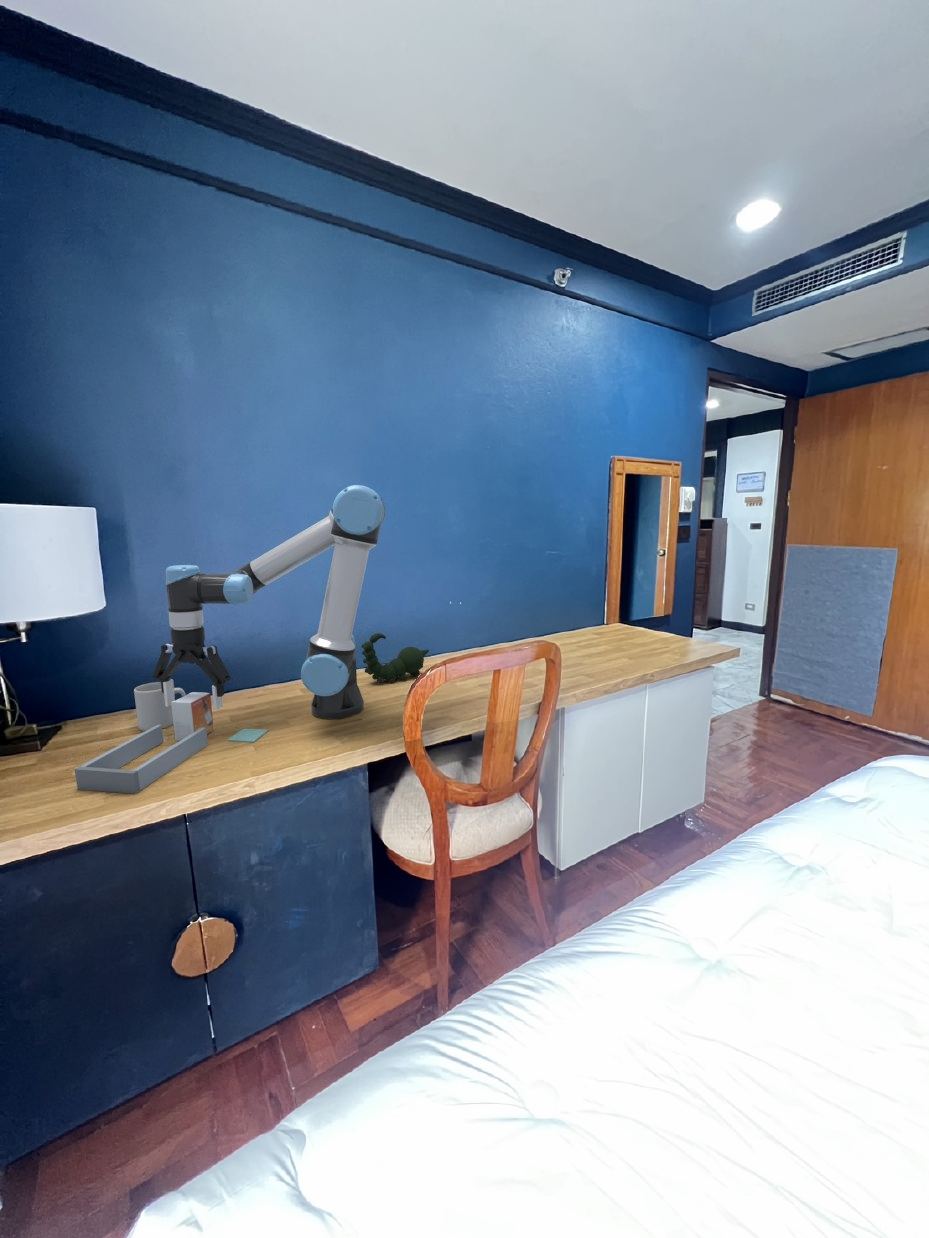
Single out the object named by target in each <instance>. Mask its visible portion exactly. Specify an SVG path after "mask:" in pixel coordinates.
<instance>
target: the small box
mask: <svg viewBox="0 0 929 1238" xmlns="http://www.w3.org/2000/svg"><path fill="white" fill-rule="evenodd" d="M211 697H212V696H211V693H210V692H200V691H199V692H198V691H197V692H196V691H192V692H189V693H188V694H186V696H184V697H182V696H181V697H180V698H178V699H175V701H173V702H171V706H172V715H173V724H172V725H173V731H174V740H175V741H176V742H179V741H181V740H182V739H184V738H186V737H187V736H189V735H190V734H192V733H194V732H195V731H197V730H198V729H200V728H206V731H207V735H208V734H209V733H211V732H213V731H214V730H215V729H214V728H215V727H214V717H213V716H214V715H213V708H212V698H211Z"/></svg>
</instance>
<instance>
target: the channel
mask: <svg viewBox="0 0 929 1238" xmlns="http://www.w3.org/2000/svg"><path fill="white" fill-rule="evenodd" d="M163 743H164V735H163V729H162V725H156V726H154V727H152V728H150V729H149V730H147V731H142V732H141V733H139V734H137V735H136V736H134V737H131V738H129V739H128V740H127V741H124V742H123V743H121V744H119V745H116V746H115V747H113V748H112V749H109V750H108V751H105V752H104V753H102V754H100V755H99V756H98V755H97V757H94V758H93V759H91V760H89V761H87V762H85V763H84V764H81V765H80V766H78V767H76V768H74V774H75V780H76V782H75V783H76V787H77V790H82V791H96V792H108V793H120V794H121V793H122V794H135V795H136V794H137V793H140V792H141V791H142V790H144V789H145V788H146V787H148V786H149V785H151V784H152V783H154V782H155V781H156V780H158V779H159V778H161V777H163V776H164V775H165V774H167V773H168V772H170V771H172V770H173V769H174V768H176V767H177V766H179V765H181V763H183V762H185V761H186V760H188V759H189V758H191V757H192V756H194V755H195V754H197V753H198V752H200V751H201V750H202V749H203V748H206V747H207V746H208V745H209V743H208V734H207V731H206V728H200V729H198V730H197V731H195V732H194V733H192V734H190V735H189V736H187V737H186V738H184V739H182V740H181V741H176V743H174V744H173V745H171V746H169V747H167V748H166V749H164V750H162V751H161V752H160V753H158V754H156V755H154V756H153V757H152V758H150V759H148V760H147V761H145V762H143V763H142V764H140V765H138V766H136V767H135V768H134V769H132V770H131V769H120V768H122V767H123V766H126V765H127V764H129V763H130V762H132V761H134V760H136V759H137V758H139V757H140V756H142V755H144V754H146V753H147V752H149V751H151V750H152V749H154V748H156V747H157V746H159V745H161V744H163Z"/></svg>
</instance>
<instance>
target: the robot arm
mask: <svg viewBox="0 0 929 1238" xmlns="http://www.w3.org/2000/svg"><path fill="white" fill-rule="evenodd" d="M385 516H386V506H385V503H384V501H383V499H382V497H381V496H380V495H379V494H378V493H377V492H376V491H375V490H374V489H372V487H370V486H369V487H368V486H365V485H360V484H353V485H349V486H347V487H345V488H343V489H342V490H341V491H339V493H337V495H336V497H335V498H334V501H333V503H332V509H330V510H329V513H328V516H326V517H324V518H323V519H321V520H319V521H318V522H315V524H313V525H311V526H309V527H308V528H306V529H304V530H303V531H301V532H299V533H297V534H296V535H294V536H292V537H291V538H289V539H287V540H285V541H284V542H282V543H281V544H278V545H277V546H276V547H274V548H272V549H270V550H269V551H267V552H265V553H263V554H262V555H260V556H259V557H257V558H255V559H253V560H252V561H250V562H248V563H246V564H245V565H243V566H242V567H239V568H238V569H236V570H233V571H229V572H226V573H202V572H201V569H200V567H199V566H198V565H192V564H180V565H170V566H167V567H166V569H165V588H166V596H167V603H168V605H167V606H168V619H169V620H168V621H169V627H170V638H171V639H170V641H171V642H169V643H166V644H162V645H161V647H160V649H161V650H160V655H159V658H158V660H157V663H156V666H155V668H154V671H153V673H152V677H151V678H153V679H152V680H159V681H158V682H161V690H162V693H164V698H165V706H166V707H168V706H170V705H171V702H173V701H175V700H176V699H175V698H176V697H175V696H176V695H175V694H174V688H175V685H174V679H172V676H173V675H174V674H175V672H176V670H177V669H178V668H179V666H180V665H181V664H186V663H187V664H193V665H194V664H195V665H196V666H198V667H199V668H201V670H202V671H203V672H204V673H205V675H207V677H209V679H210V680H211V681H212V682H213V684H212V686H211V689H212V690H211V691H212V692H211V693H212V704H213V710H214V711H218V710H219V709H221V708H223V707H224V703H223V702H224V701H223V696H225V684H226V683H228V682H230V681H231V680H232V677H231V675H230V673H229V672H228V669H227V668H226V666H225V664H224V662H223V660H222V658H221V657H220V655H219V653H218V647H217V646H216V645H211V646H206V645H205V639H206V634H205V633H206V631H205V627H204V626H203V625H204V622H205V621H204V610H203V607H204V606H203V605H206V604H209V605H210V604H211V605H212V604H213V605H220V604H221V605H234V606H235V605H236V606H237V605H242V604H243V605H244V604H248V603H250V601H252V598H253V595H255V594H256V593H258V591H259V590H262V588H264V587H266V586H267V585H269V584H271V583H273V582H274V581H276V580H278V579H279V578H281V577H284V575H287V574H288V573H290V572H292V571H293V570H295V569H296V568H299V567H300V566H301V565H303V564H306V563H307V562H308V561H310V560H312V559H314V558H316V557H317V556H319V555H321V554H322V553H324V552H325V551H328V550H329V549H331V548H333V547H334V548H333V553H332V559H331V563H330V564H331V565H330V568H329V573H328V578H327V584H326V589H325V592H324V593H325V594H324V598H323V603H322V609H321V614H320V619H319V625H318V630H317V633H316V634H314V635H313V636H311V637H310V639H309V645H308V649H307V653H306V659H305V661H304V662H303V664H302V666H301V669H300V670H301V671H300V679H301V682H302V684H303V685H304V686H305V688H306V690H308V691H309V692H311V693H312V694H313V696H312V702H311V703H310V704H311V705H310V709H311V715H313V716H314V717H316V718H319V719H324V720H325V719H326V720H338V719H345V718H351V717H354V716H356V715H359V714H360V713H361V712H363V711H364V709H365V700H364V698H363V695H362V693H361V690H360V687H359V684H358V678H357V658H356V656H357V654H356V653H357V651H356V646H357V643H356V638H355V635H354V634H353V631H354V626H355V621H356V616H357V611H358V606H359V602H360V596H361V593H362V589H363V588H362V587H363V583H364V579H365V573H366V567H367V564H368V559H369V555H370V554H369V553H370V551H371V549H373V548H375V547H376V546H377V544H378V540H379V536H380V530H381V526H382V524H383V521H384V519H385ZM172 653H173V654H174V657H173V658H172V659H171V657H172ZM170 660H171V662H170V663H169V661H170Z"/></svg>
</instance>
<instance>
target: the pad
mask: <svg viewBox="0 0 929 1238" xmlns="http://www.w3.org/2000/svg"><path fill="white" fill-rule="evenodd" d="M268 732H269V730H268V729H255V728H253V729H252V728H243V729H241V730H239V731H238V732H237V733H235V734H234V735H233V736H230V738H228V739H227V741H228V742H233V743H249V744H250V743H251V744H254V743H256V742H257V741H258V740H259V739H260V738H262V737H263V736H265V735H266V734H267V733H268Z"/></svg>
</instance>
